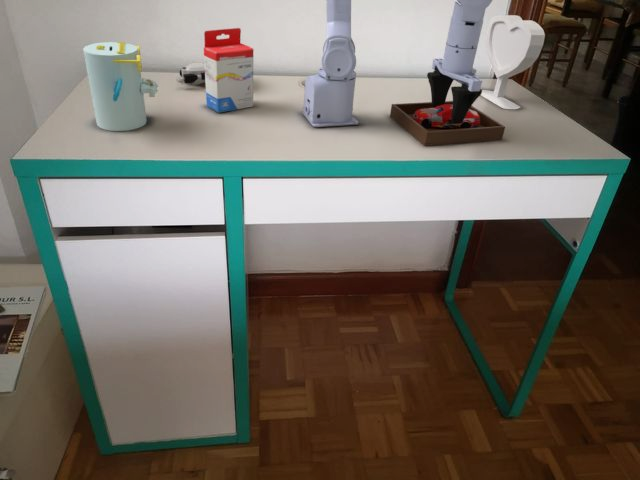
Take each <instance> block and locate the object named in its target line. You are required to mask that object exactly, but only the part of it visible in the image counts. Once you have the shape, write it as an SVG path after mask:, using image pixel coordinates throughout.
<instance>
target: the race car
mask: <svg viewBox="0 0 640 480" xmlns="http://www.w3.org/2000/svg"><path fill="white" fill-rule="evenodd" d="M452 108H453V104H444V105H440V106H437V107H435V108H424V109H419V110H417V111H416V112H415V113H414V115H413V119H414V120H415V121H416V122H417V123H419V124H420V125H421V124H422V126H423V127H424V128H429V127H430V126H432V127H441V128H454V129H460V128H461V129H466V128H478V127H479V124H480V120H479V114H478V113H477V112H476V111H473V110H470V109H469V110H468V112H467V114H466V116H465V118H464V120H463V122H462V123H458V124H453V123H451V115H452Z"/></svg>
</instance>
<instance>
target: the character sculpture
mask: <svg viewBox="0 0 640 480" xmlns="http://www.w3.org/2000/svg"><path fill="white" fill-rule="evenodd" d="M82 51H83V55H84V61H85V67H86V72H87V78H88V83H89V91H90V94H91V100H92V106H93V111H94V112H93V113H94V117H95V122H96V125H97V127H98V128H100V129H102V130H105V131H110V132H126V131H133V130H137V129H140V128H142V127H144V126H145V125H146V124H147V121H148V119H147V112H146V104H145V96H144V95H145V94H148V97H150V98H155V96H156V95H155V94H157V93H158V92H159V90H158V87H159V85H158V83H157V81H156V80H154V79H152V80H151V79H150V78H145V77H142V72H143V68H142V67H143V66H142V55H141V47H140V45H135V44H131V43H126V42H124V41H123V42H122V41H118V42H117V41H104V42H96V43H91V44H87V45H85V46H84V47H83V48H82Z"/></svg>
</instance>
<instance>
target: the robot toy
mask: <svg viewBox="0 0 640 480" xmlns="http://www.w3.org/2000/svg"><path fill="white" fill-rule="evenodd" d="M175 80H176V82H178V83H183V82H184V84H186V85H187V84H192V85H193V86H199V85H200V84H206V82H205V64H204V62H192V63H189V64H187V65H184V66H182V68H181V69H180V70H179V76H178V77H176V78H175Z"/></svg>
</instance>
